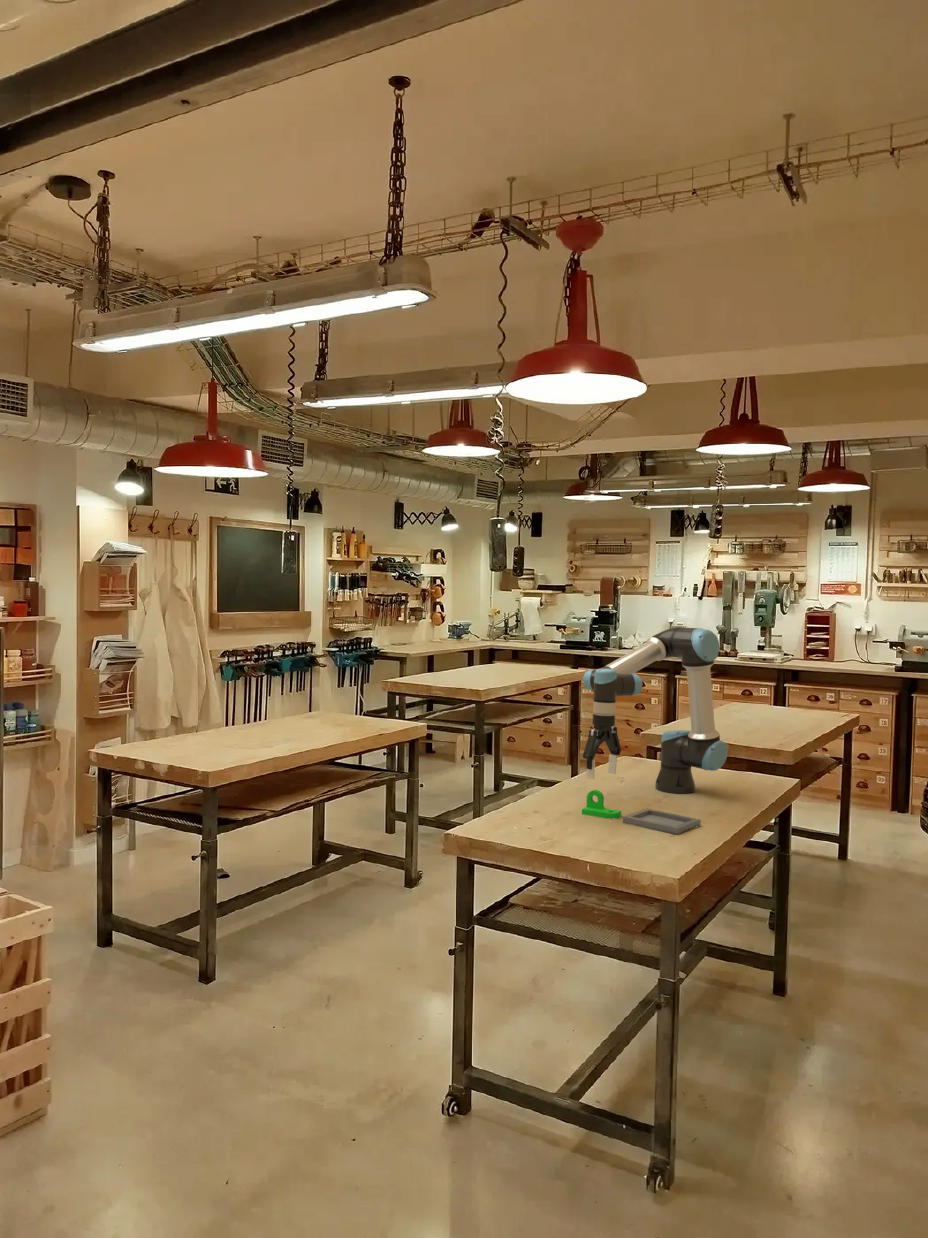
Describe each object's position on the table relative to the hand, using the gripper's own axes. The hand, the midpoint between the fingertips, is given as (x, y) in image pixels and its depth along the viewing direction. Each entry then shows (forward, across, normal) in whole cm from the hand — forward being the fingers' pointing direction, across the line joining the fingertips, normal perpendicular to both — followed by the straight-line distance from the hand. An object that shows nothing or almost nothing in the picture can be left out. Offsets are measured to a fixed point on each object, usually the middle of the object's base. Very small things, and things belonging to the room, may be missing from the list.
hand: (601, 776), depth 300 cm
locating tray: (+14, -6, +20) cm, 25 cm away
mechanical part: (+14, -1, 0) cm, 14 cm away
